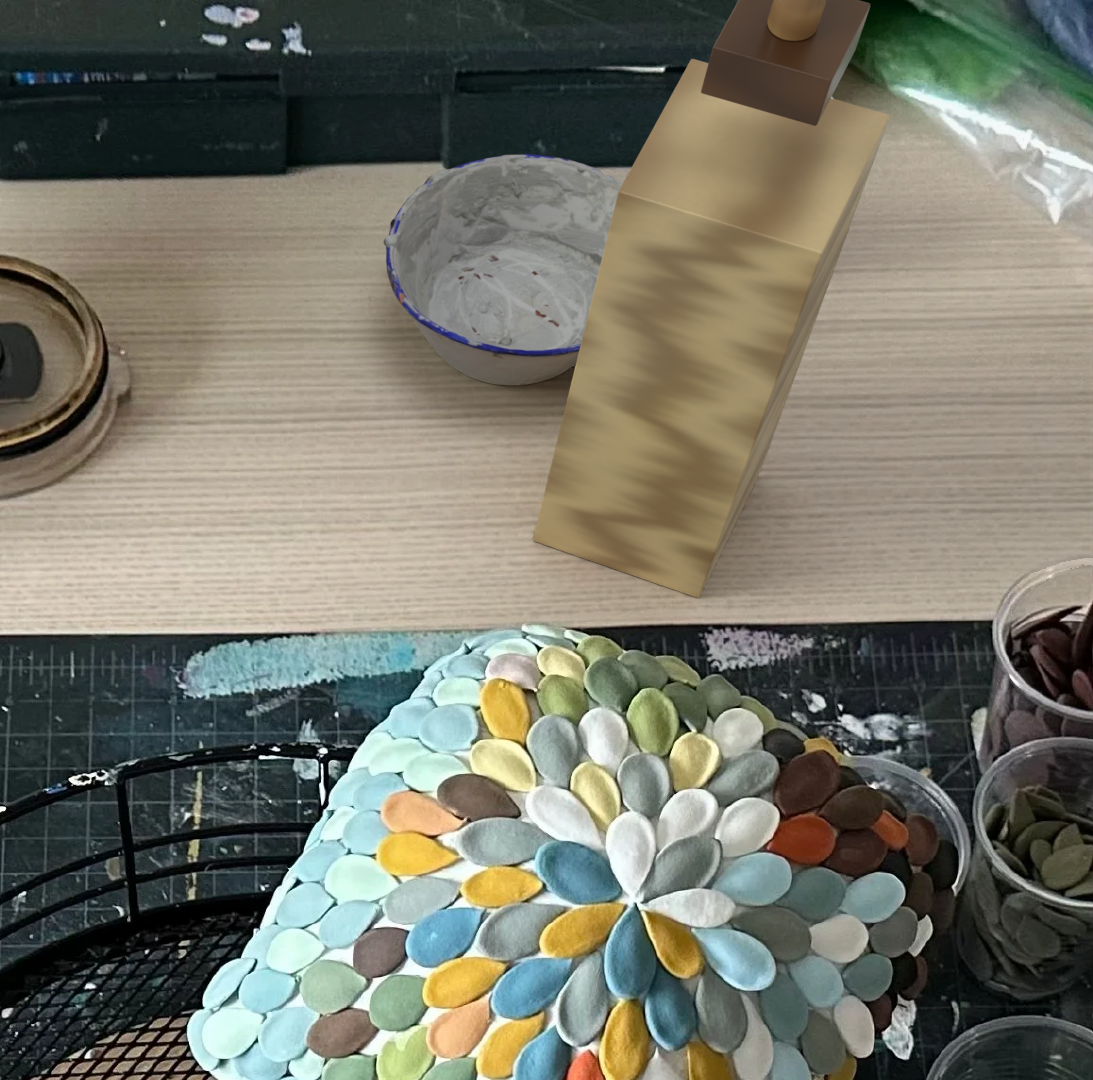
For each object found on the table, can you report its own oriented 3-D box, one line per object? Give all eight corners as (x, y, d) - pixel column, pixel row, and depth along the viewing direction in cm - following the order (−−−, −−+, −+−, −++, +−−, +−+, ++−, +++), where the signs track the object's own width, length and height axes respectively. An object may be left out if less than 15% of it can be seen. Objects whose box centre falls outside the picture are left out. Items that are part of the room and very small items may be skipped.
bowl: (407, 444, 108) (419, 368, 104) (350, 250, 114) (360, 171, 110) (677, 403, 108) (700, 325, 104) (607, 211, 114) (626, 130, 110)
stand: (759, 474, 106) (891, 114, 88) (699, 599, 103) (822, 253, 85) (595, 420, 108) (691, 57, 90) (532, 541, 105) (618, 191, 87)
